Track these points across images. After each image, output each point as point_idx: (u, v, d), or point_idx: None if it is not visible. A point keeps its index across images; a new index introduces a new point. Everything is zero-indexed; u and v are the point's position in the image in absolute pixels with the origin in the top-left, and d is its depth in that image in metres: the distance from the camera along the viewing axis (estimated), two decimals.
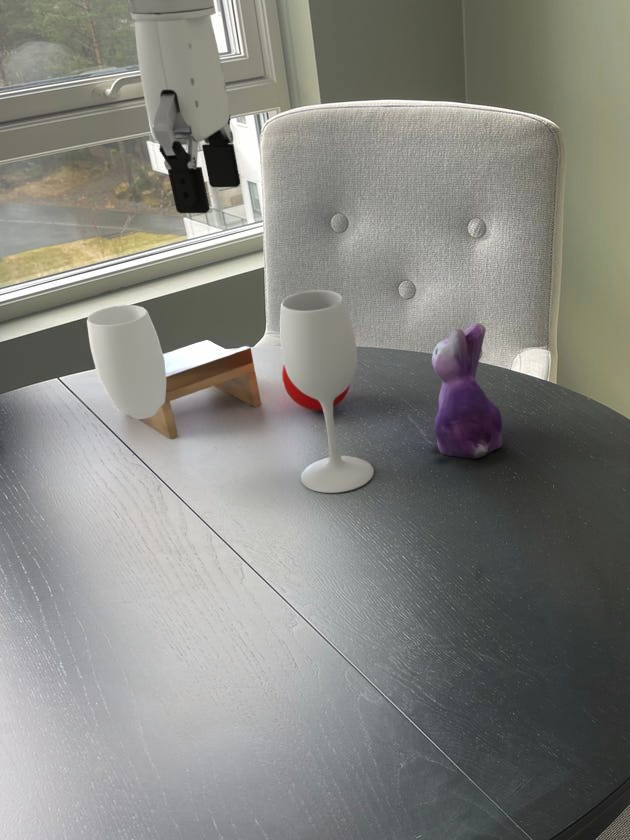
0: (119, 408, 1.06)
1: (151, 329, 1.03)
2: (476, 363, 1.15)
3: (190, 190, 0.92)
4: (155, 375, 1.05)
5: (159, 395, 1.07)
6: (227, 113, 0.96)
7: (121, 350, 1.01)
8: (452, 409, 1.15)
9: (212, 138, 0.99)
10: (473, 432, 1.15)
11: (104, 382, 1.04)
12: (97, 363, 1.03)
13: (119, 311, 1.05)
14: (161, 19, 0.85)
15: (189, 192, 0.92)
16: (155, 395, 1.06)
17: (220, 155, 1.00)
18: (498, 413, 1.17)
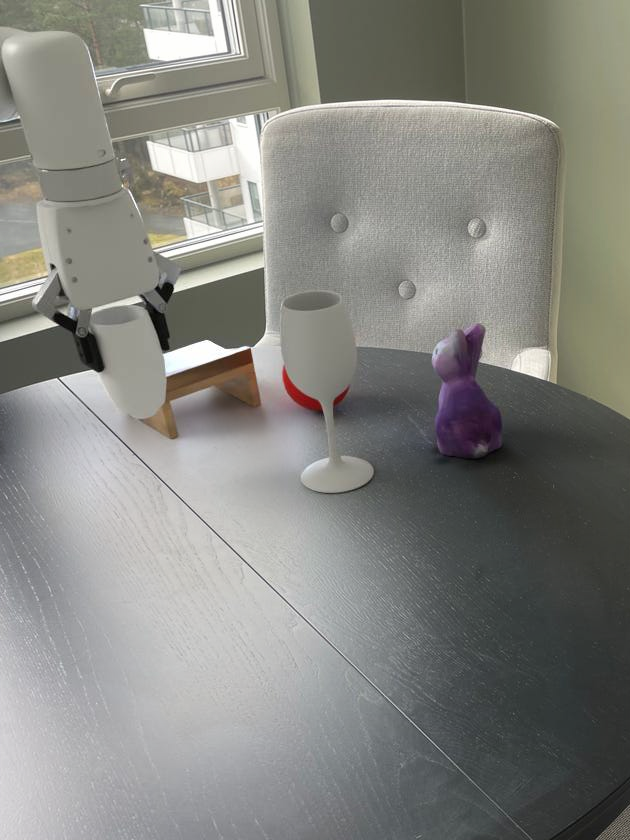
0: (119, 408, 1.06)
1: (151, 329, 1.03)
2: (476, 363, 1.15)
3: (82, 352, 1.01)
4: (155, 375, 1.05)
5: (159, 395, 1.07)
6: (151, 281, 1.01)
7: (121, 350, 1.01)
8: (452, 409, 1.15)
9: (147, 303, 1.04)
10: (473, 432, 1.15)
11: (104, 382, 1.04)
12: None
13: (120, 311, 1.05)
14: (49, 205, 0.93)
15: (82, 353, 1.01)
16: (155, 395, 1.06)
17: None
18: (498, 413, 1.17)
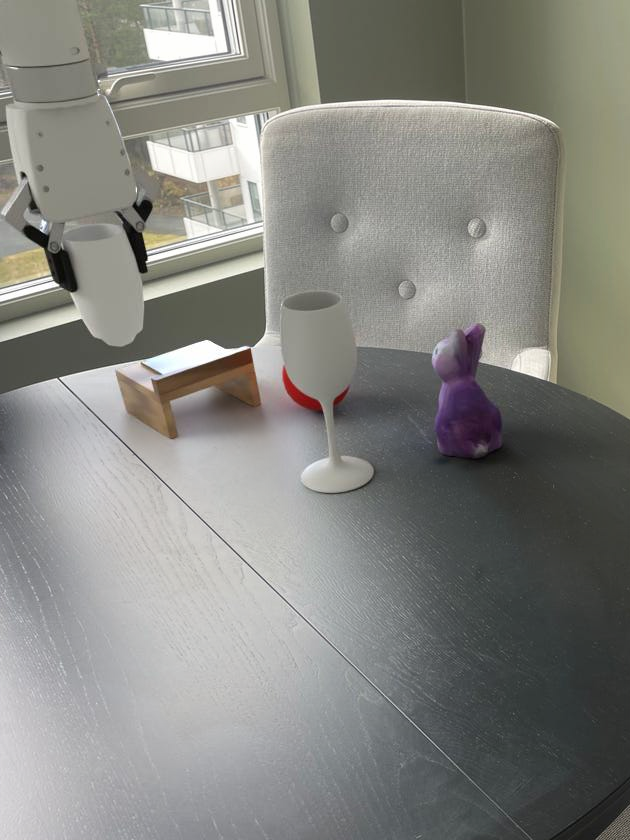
0: (94, 333, 1.01)
1: (128, 248, 0.98)
2: (476, 363, 1.15)
3: (54, 270, 0.96)
4: (132, 298, 1.00)
5: (136, 321, 1.02)
6: (128, 196, 0.96)
7: (96, 269, 0.96)
8: (452, 409, 1.15)
9: (124, 222, 0.99)
10: (473, 432, 1.15)
11: (78, 304, 0.99)
12: None
13: (95, 230, 1.00)
14: (19, 106, 0.88)
15: (54, 271, 0.96)
16: (131, 320, 1.01)
17: None
18: (498, 413, 1.17)
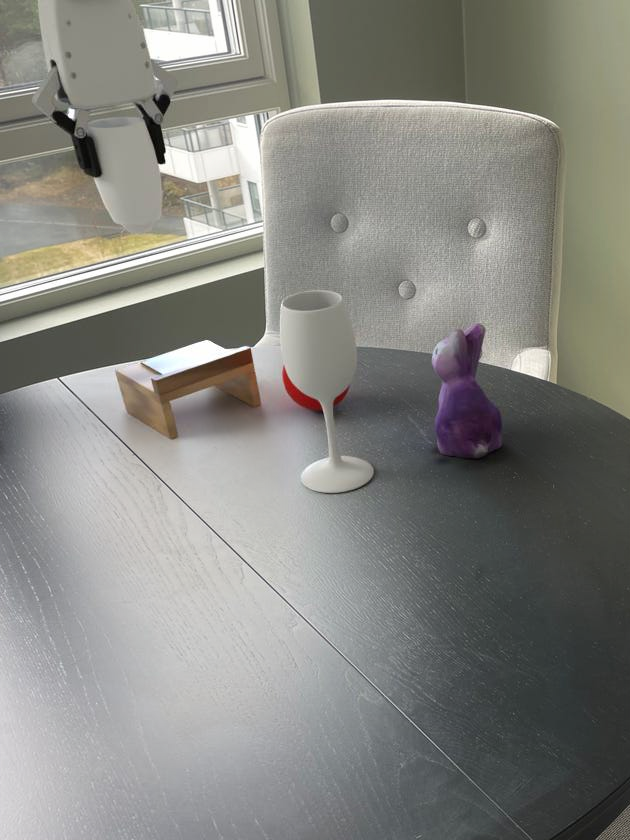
0: (116, 219, 1.10)
1: (147, 138, 1.07)
2: (476, 363, 1.15)
3: (80, 155, 1.05)
4: (151, 185, 1.08)
5: (155, 208, 1.10)
6: (147, 88, 1.05)
7: (118, 154, 1.05)
8: (452, 409, 1.15)
9: (144, 115, 1.08)
10: (473, 432, 1.15)
11: (102, 190, 1.08)
12: None
13: (118, 123, 1.09)
14: None
15: (80, 157, 1.05)
16: (150, 207, 1.10)
17: None
18: (498, 413, 1.17)
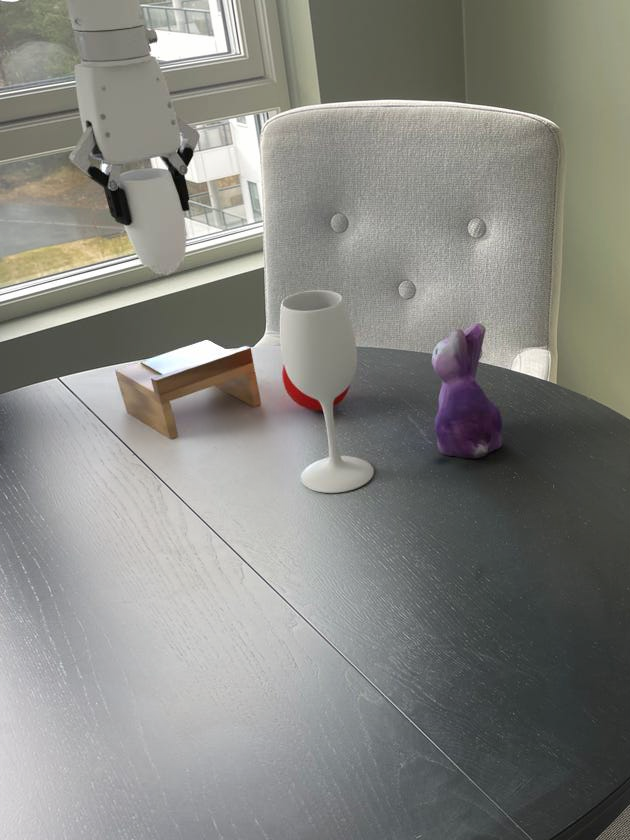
0: (144, 262, 1.20)
1: (173, 188, 1.16)
2: (476, 363, 1.15)
3: (113, 206, 1.14)
4: (176, 230, 1.18)
5: (180, 251, 1.20)
6: (173, 143, 1.14)
7: (147, 204, 1.14)
8: (452, 409, 1.15)
9: (169, 167, 1.17)
10: (473, 432, 1.15)
11: (131, 236, 1.17)
12: None
13: (145, 174, 1.18)
14: (86, 65, 1.06)
15: (113, 207, 1.14)
16: (176, 250, 1.19)
17: None
18: (498, 413, 1.17)
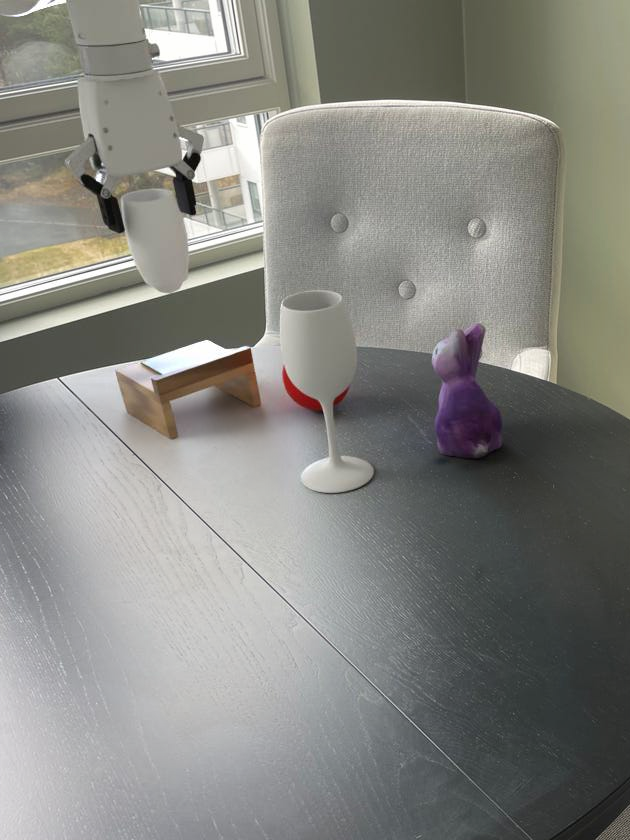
0: (148, 281, 1.21)
1: (177, 208, 1.18)
2: (476, 363, 1.15)
3: (106, 213, 1.14)
4: (180, 250, 1.19)
5: (183, 270, 1.21)
6: (175, 156, 1.15)
7: (151, 225, 1.16)
8: (452, 409, 1.15)
9: (177, 173, 1.19)
10: (473, 432, 1.15)
11: (135, 256, 1.19)
12: (129, 238, 1.17)
13: (148, 194, 1.19)
14: (89, 79, 1.07)
15: (105, 215, 1.14)
16: (179, 269, 1.20)
17: (180, 188, 1.19)
18: (498, 413, 1.17)
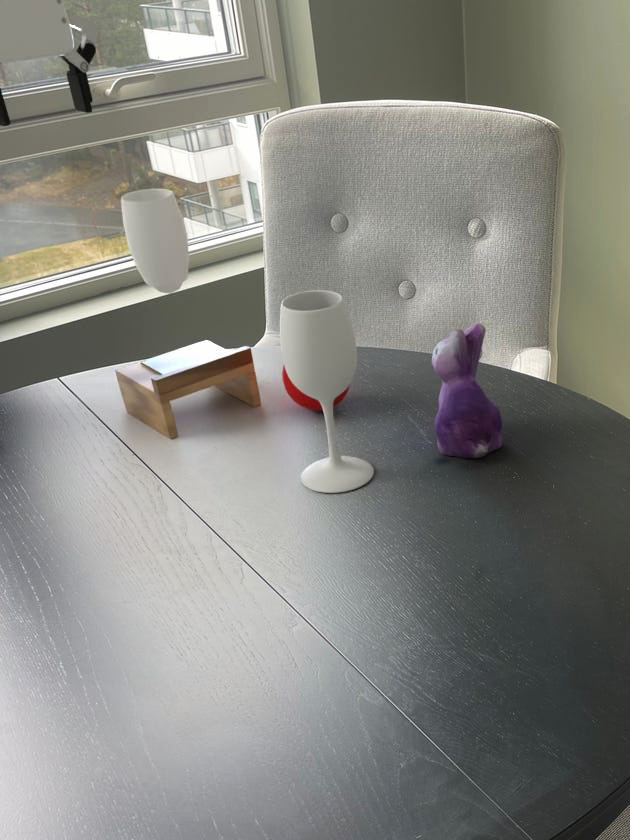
0: (148, 281, 1.21)
1: (177, 208, 1.18)
2: (476, 363, 1.15)
3: None
4: (180, 250, 1.19)
5: (183, 270, 1.21)
6: (65, 43, 1.07)
7: (151, 225, 1.16)
8: (452, 409, 1.15)
9: (70, 65, 1.11)
10: (473, 432, 1.15)
11: (135, 256, 1.19)
12: (129, 238, 1.17)
13: (148, 194, 1.19)
14: None
15: None
16: (179, 269, 1.20)
17: (74, 82, 1.11)
18: (498, 413, 1.17)
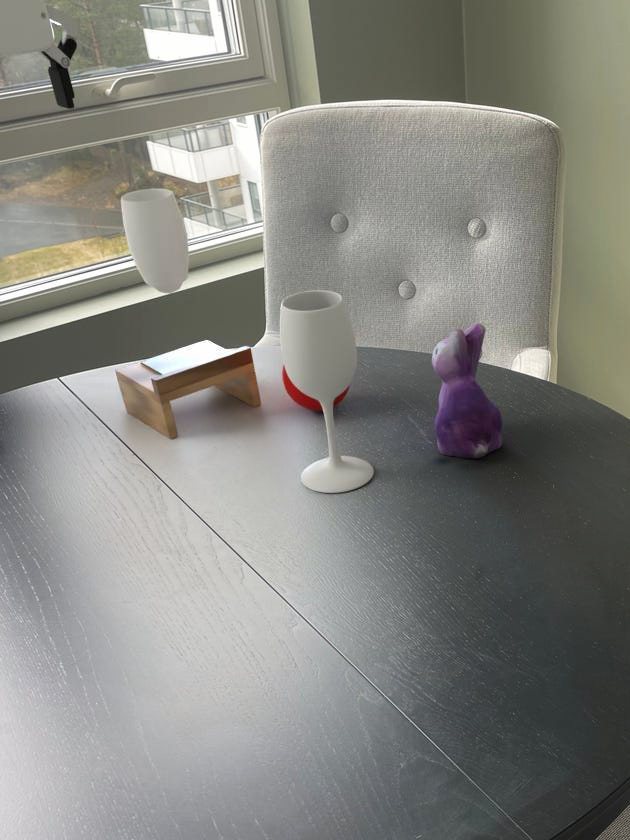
0: (148, 281, 1.21)
1: (176, 208, 1.18)
2: (476, 363, 1.15)
3: None
4: (180, 250, 1.19)
5: (183, 270, 1.21)
6: (45, 39, 1.07)
7: (151, 225, 1.16)
8: (452, 409, 1.15)
9: (51, 61, 1.10)
10: (473, 432, 1.15)
11: (135, 256, 1.19)
12: (129, 238, 1.17)
13: (148, 194, 1.19)
14: None
15: None
16: (179, 269, 1.20)
17: (56, 77, 1.11)
18: (498, 413, 1.17)
